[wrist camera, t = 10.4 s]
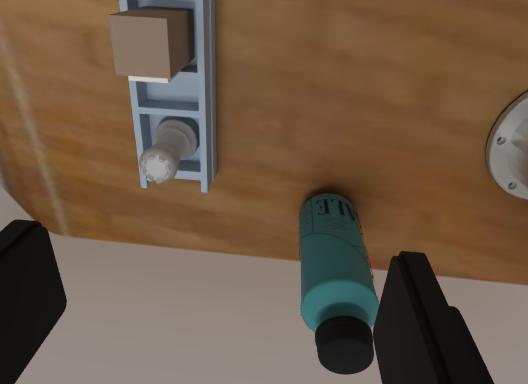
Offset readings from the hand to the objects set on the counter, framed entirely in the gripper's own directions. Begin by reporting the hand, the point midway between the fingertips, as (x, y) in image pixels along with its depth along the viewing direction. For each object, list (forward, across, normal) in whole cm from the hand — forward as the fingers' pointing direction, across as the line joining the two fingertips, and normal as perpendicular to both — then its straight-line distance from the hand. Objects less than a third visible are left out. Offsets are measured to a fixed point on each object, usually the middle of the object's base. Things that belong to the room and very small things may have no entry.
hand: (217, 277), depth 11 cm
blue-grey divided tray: (+30, +9, +3) cm, 32 cm away
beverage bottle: (+30, -7, +16) cm, 35 cm away
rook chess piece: (+28, +9, +7) cm, 31 cm away
